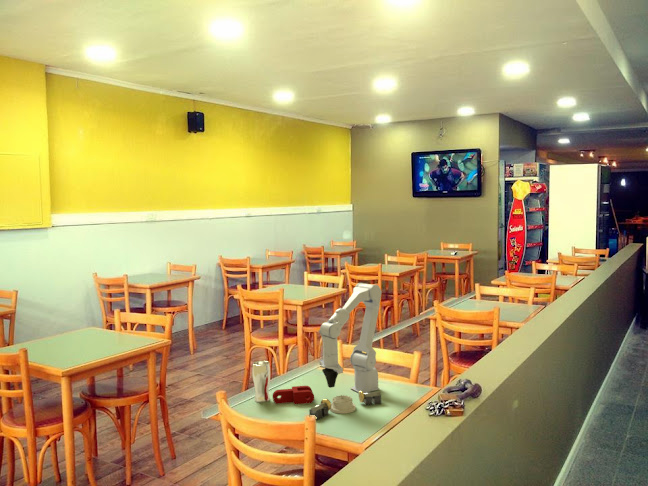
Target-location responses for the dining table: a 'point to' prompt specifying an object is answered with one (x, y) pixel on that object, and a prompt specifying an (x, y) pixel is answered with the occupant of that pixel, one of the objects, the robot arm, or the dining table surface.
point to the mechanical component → (342, 405)
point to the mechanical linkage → (294, 395)
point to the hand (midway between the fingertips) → (331, 386)
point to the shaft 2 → (370, 398)
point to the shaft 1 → (321, 409)
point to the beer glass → (261, 380)
